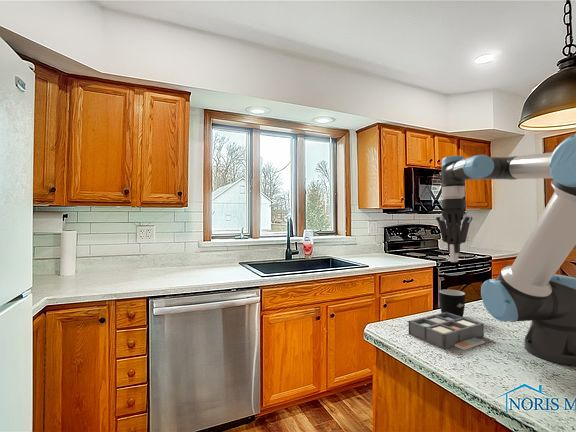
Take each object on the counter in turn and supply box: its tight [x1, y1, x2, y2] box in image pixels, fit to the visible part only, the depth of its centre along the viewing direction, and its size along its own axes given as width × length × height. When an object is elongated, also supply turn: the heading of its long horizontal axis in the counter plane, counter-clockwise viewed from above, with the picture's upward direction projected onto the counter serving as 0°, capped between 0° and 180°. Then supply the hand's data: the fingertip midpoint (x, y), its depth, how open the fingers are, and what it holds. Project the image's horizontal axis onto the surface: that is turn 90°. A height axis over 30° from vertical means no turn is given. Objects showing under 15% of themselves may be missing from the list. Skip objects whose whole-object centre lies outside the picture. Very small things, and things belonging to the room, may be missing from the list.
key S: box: [431, 326, 452, 333], centre depth 96 cm, size 4×4×2 cm
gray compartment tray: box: [408, 312, 486, 351], centre depth 100 cm, size 17×20×4 cm
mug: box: [438, 289, 466, 317], centre depth 119 cm, size 12×9×10 cm
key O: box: [458, 320, 475, 326], centre depth 102 cm, size 4×4×2 cm
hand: (454, 261), depth 112 cm, fingers closed
